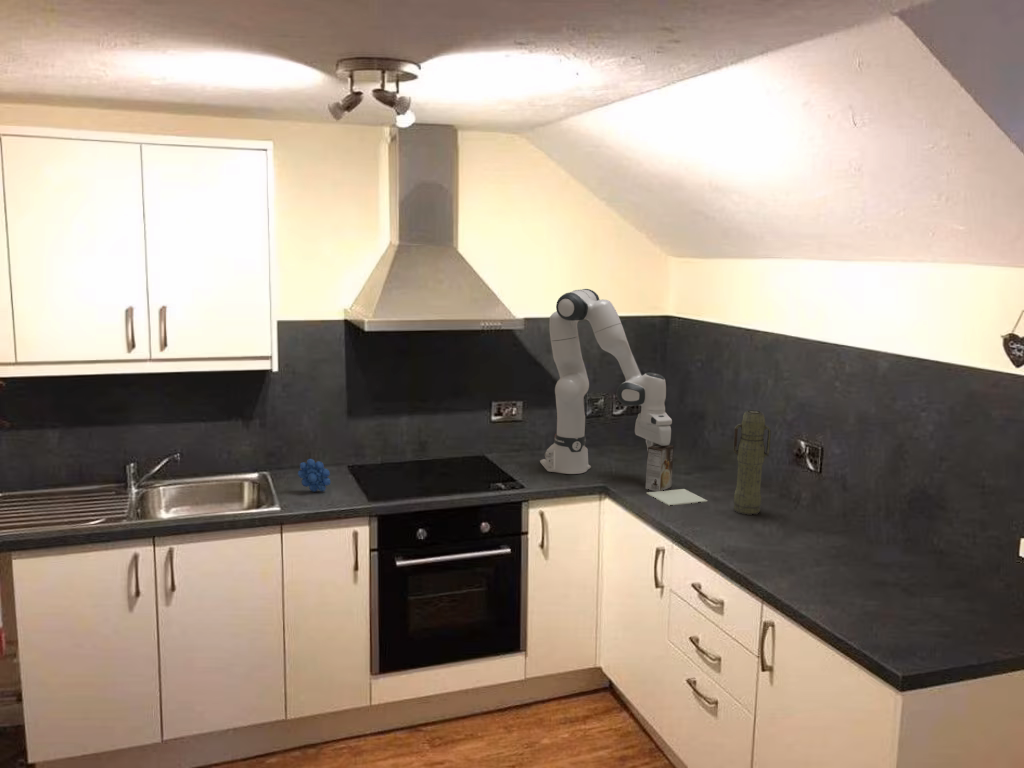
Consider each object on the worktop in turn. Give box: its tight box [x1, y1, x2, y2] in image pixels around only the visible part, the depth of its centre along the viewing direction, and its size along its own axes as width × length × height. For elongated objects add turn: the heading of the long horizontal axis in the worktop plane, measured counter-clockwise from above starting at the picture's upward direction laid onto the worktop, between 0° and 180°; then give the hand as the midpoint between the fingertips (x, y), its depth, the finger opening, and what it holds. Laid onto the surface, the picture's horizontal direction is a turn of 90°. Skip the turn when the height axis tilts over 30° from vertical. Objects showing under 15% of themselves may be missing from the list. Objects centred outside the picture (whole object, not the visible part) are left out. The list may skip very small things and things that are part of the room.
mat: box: [646, 488, 708, 507], centre depth 311 cm, size 15×16×1 cm
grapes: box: [297, 458, 331, 493], centre depth 304 cm, size 12×7×12 cm, turn 89°
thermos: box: [732, 409, 772, 516], centre depth 295 cm, size 9×12×35 cm
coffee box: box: [645, 444, 675, 492], centre depth 321 cm, size 9×6×16 cm
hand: (651, 452), depth 327 cm, fingers closed
